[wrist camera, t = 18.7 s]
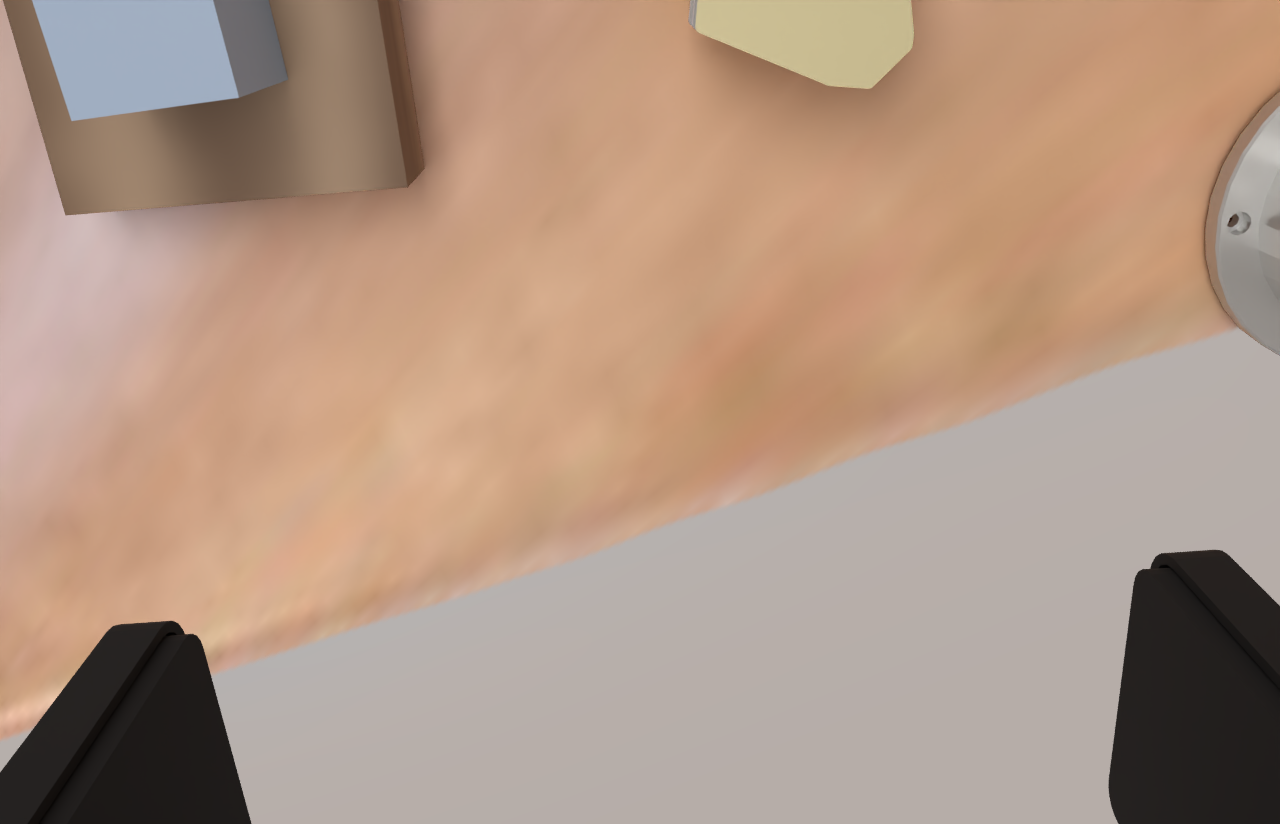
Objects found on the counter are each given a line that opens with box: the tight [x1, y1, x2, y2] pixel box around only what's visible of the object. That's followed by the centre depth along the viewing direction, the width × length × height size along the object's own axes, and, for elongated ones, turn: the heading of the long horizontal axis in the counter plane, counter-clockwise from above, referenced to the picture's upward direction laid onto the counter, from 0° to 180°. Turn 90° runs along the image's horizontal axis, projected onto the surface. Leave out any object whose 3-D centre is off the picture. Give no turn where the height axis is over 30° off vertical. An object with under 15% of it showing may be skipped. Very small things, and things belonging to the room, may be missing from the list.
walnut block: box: [3, 0, 425, 215], centre depth 37 cm, size 12×12×4 cm
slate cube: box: [32, 0, 288, 121], centre depth 33 cm, size 5×5×5 cm
